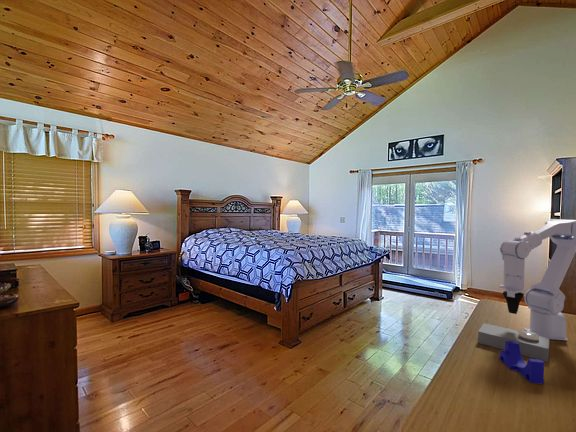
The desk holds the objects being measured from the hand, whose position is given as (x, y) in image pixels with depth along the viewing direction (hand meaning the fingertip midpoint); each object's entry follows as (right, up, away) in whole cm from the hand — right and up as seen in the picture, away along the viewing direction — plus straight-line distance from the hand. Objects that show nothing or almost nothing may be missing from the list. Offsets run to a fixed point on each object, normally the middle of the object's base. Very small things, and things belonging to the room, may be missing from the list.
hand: (512, 312), depth 103 cm
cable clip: (-13, -10, -20) cm, 26 cm away
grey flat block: (-4, -10, -5) cm, 12 cm away
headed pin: (-1, -9, -8) cm, 12 cm away
